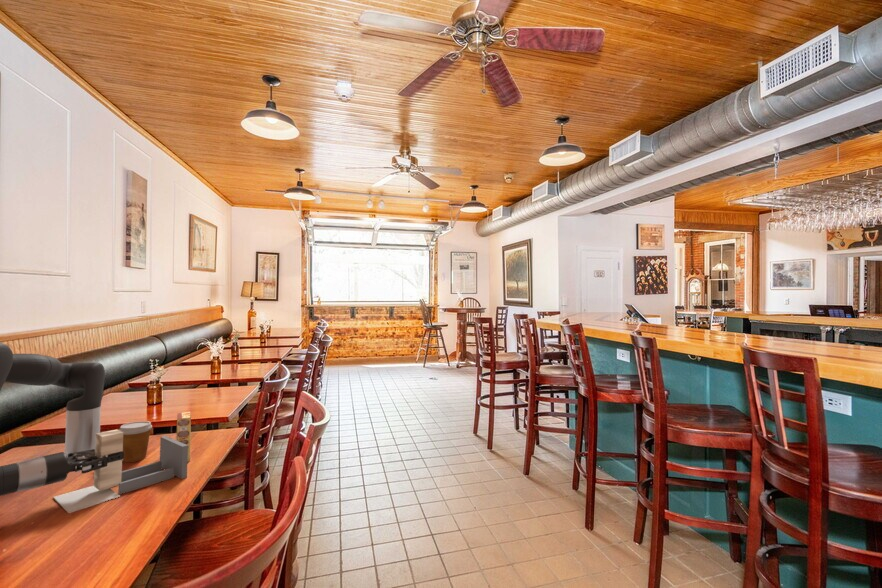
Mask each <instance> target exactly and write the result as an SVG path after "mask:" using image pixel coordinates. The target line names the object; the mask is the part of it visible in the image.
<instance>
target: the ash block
mask: <svg viewBox="0 0 882 588" xmlns="http://www.w3.org/2000/svg"><path fill="white" fill-rule="evenodd" d="M121 451H123V432H121V431H119V429H118V428H117V429H112V430H107V431H102V432H101V431H100V433H96V443H95V455H98V456H102V455H108V454H112V453H116V452H121ZM98 463H102V461H99V462H98ZM122 471H123V459H122V460H118V461H113V462H109V463H108V464H107V466H106V467H103V468H100V469H97V470H93V486H94V487H95V488H97V489H98V490H99V491H100V490H104V489H107V488H110V489H111V488H114V487H117V486H119V483H120V482H121V477H122Z"/></svg>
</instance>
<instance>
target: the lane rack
mask: <svg viewBox="0 0 882 588" xmlns="http://www.w3.org/2000/svg"><path fill="white" fill-rule="evenodd" d="M159 441H160V443H159V446H160V448H159V461H158V460H157V461H156V462H151V463H148V464H144V465H140V466H137V467H134V468H133V467H132V468H129V469H125V470H122V477H121V482H120V483H119V485H118V493H119V495H123V494H126V493H129V492H132V491H135V490H139V489H142V488H145V487H149V486H152V485H155V484H158V483H161V481H162V482H164V481H168V480H171V479H174V478H175V477H177V478H179V479H181V480H183V479H186V478H188V461H187V459H188V445H186V444H184V443H181V442H179V441H177V440H176V439H174V438H171V437H170V436H168V435H163V436H160V440H159ZM162 468H163V469H162ZM164 469H165V470H164ZM125 492H126V493H125ZM118 493H117V494H118ZM122 493H123V494H122Z"/></svg>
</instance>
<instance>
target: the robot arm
mask: <svg viewBox="0 0 882 588" xmlns="http://www.w3.org/2000/svg"><path fill="white" fill-rule="evenodd" d="M105 379H106V370H105V367H104V365H103V364H102V363H100V362H73V363H72V362H71V363H66V362H65V363H64V362H61V361H60V360H59V359H58V358H56V357H53V356H49V355H44V354H38V353H13V350H12V349H11V347H9V345H7V344H6V343H3V342H0V391H2V388H3V386H4V383H8V384H18V385H26V386H35V387H36V386H44V387H45V386H51V385H52V386H57V387H61V388H64V389H68V390H69V389H70V390H84V391H83V394H82V395H81V396H80V397H76V398H73V399H70V400H69V401H67V403H66V413H65V414H66V416H65V437H64V438H65V442H64V451H61V452H55V453H52V454H47V455H41V456H38V457H32V458H29V459H28V458H27V459H23V460H22V461H19V462H14V463H10V464H4V465H0V497H1V496H7V495H8V494H9V495H10V494H12V493H18V492H22V491H28V490H33V489H36V488H37V489H38V488H40V487H41V488H42V487H43V486H48V485H51V484H52V485H53V484H55V483H60V482H64V481H65V480H66V479H67V478H68V474H70V473H73V472H75V473H79V472H80V473H81V474H87V473H90V472H94V470H97V469H100V468H103V467H106V466H107V464H108V463H109V462H113V461H118V460H122V461H123V458H124V452H123V451H121V452H116V453H112V454H108V455H102V456H98V455H95V443H96V433H101V409H102V408H101V406H102V400H103V395H104V386H105ZM99 461H102V463H98V462H99Z"/></svg>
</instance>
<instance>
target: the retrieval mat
mask: <svg viewBox="0 0 882 588" xmlns="http://www.w3.org/2000/svg"><path fill="white" fill-rule="evenodd" d="M118 497H119V498H121V494H118V493H117V492H116V491H114V490H113V489H112V488H111V487H110V488H107V489H104V490H100V491H99V490H98V489H97V488H95V487H94V485H90V486H87V487H83V488H80V489H77V490H73V491H69V492H65V493H63V494H58V495H55V496H53V498H52V499H54V500H55V502H57V504H59V506H61V507H62V508H63V509H64V511H66V512H67V513H68V514H71V513H74V512H77V511H81V510H83V509H86V508H89V507H90V508H91V507H93V506H96V505H99V504H102V503H106V502H109V501H112V500H111V499H113V500H115V498H116V499H118ZM108 500H109V501H108ZM105 501H106V502H105Z"/></svg>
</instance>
